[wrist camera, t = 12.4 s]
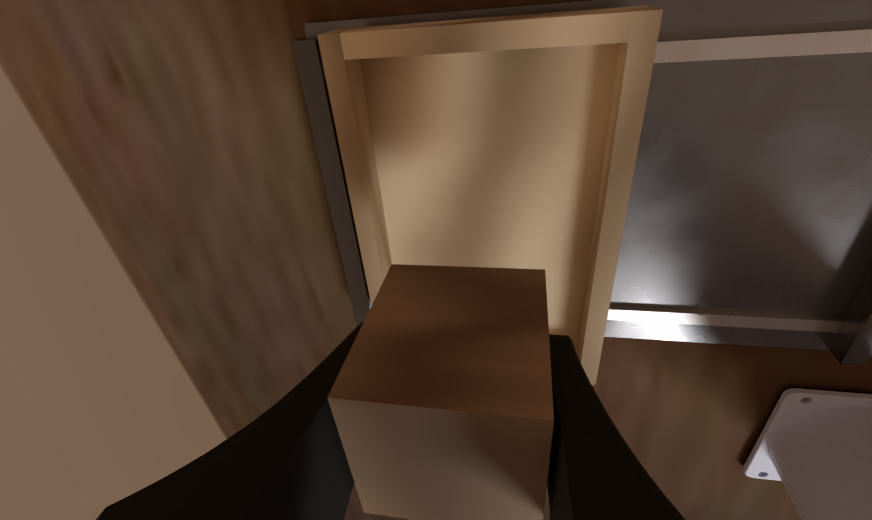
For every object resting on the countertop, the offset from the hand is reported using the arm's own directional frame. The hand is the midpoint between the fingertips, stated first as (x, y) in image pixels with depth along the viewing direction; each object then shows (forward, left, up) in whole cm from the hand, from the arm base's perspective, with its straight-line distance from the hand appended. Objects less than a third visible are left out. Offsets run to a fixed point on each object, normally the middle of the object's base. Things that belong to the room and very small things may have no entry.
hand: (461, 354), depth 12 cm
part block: (0, 0, -2) cm, 2 cm away
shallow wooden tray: (0, 0, -9) cm, 9 cm away
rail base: (-5, 0, -10) cm, 12 cm away
